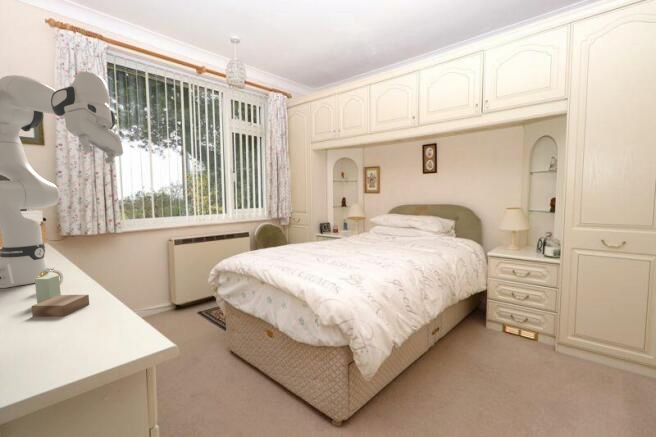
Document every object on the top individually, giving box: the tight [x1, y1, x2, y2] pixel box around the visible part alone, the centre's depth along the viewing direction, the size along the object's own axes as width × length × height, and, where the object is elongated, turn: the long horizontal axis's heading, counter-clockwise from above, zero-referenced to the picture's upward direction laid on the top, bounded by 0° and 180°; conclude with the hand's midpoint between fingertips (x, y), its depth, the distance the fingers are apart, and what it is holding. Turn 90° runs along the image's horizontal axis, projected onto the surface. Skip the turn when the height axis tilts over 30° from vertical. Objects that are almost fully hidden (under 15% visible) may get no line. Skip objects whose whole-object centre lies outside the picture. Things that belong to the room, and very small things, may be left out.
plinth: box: [31, 294, 90, 317], centre depth 92 cm, size 9×9×3 cm
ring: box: [38, 267, 64, 286], centre depth 111 cm, size 7×3×8 cm, turn 140°
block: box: [34, 274, 62, 304], centre depth 99 cm, size 4×4×8 cm
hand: (99, 158), depth 99 cm, fingers open, 8 cm apart
